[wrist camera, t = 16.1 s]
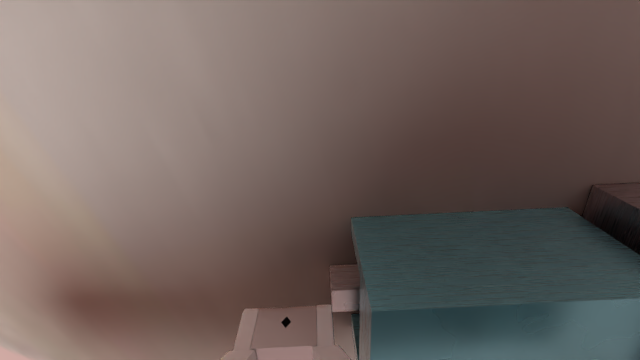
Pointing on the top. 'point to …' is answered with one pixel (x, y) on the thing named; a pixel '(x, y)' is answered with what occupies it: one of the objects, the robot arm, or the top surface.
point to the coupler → (601, 210)
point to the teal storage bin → (494, 288)
